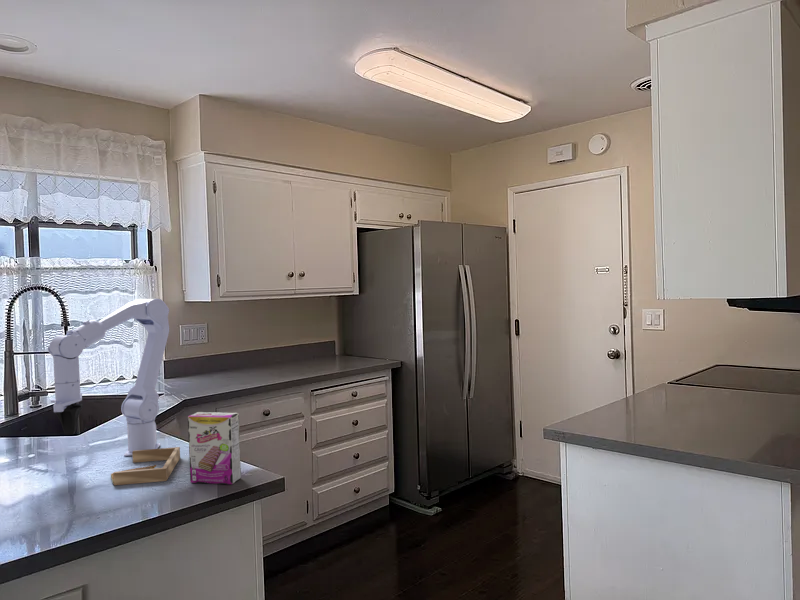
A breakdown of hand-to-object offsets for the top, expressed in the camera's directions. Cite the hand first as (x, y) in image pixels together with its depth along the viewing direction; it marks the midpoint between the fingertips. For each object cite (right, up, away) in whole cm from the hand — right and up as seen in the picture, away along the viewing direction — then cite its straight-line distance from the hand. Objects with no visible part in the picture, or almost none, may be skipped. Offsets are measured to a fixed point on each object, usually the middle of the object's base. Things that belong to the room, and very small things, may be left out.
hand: (70, 433), depth 154 cm
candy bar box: (+41, -9, -10) cm, 43 cm away
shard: (+17, -10, -4) cm, 20 cm away
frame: (+21, -9, -1) cm, 23 cm away
